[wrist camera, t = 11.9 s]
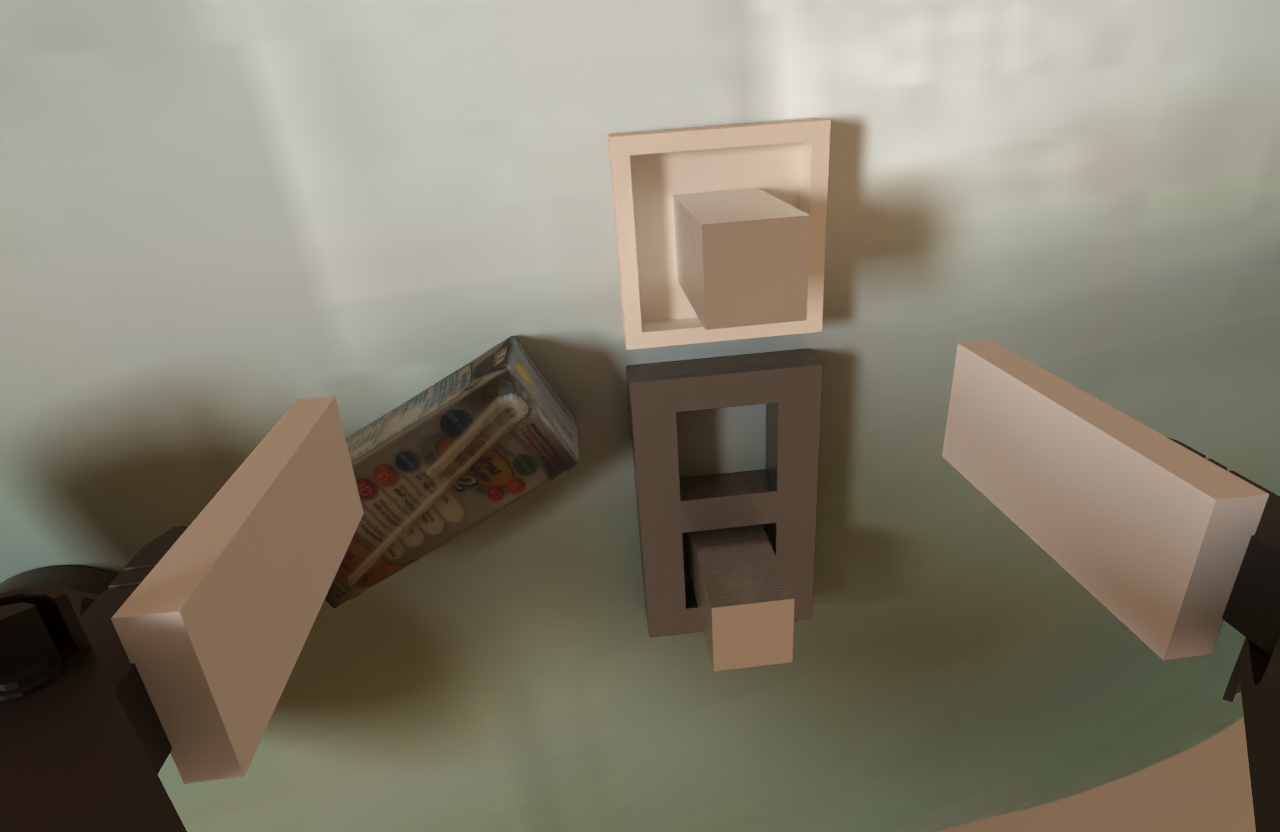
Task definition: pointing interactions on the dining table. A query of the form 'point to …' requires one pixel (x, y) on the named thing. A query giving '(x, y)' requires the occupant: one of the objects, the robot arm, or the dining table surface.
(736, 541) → the beige rectangular block
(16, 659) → the robot arm
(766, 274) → the tan rectangular block
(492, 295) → the dining table surface
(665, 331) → the tray
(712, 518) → the rack
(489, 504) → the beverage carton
